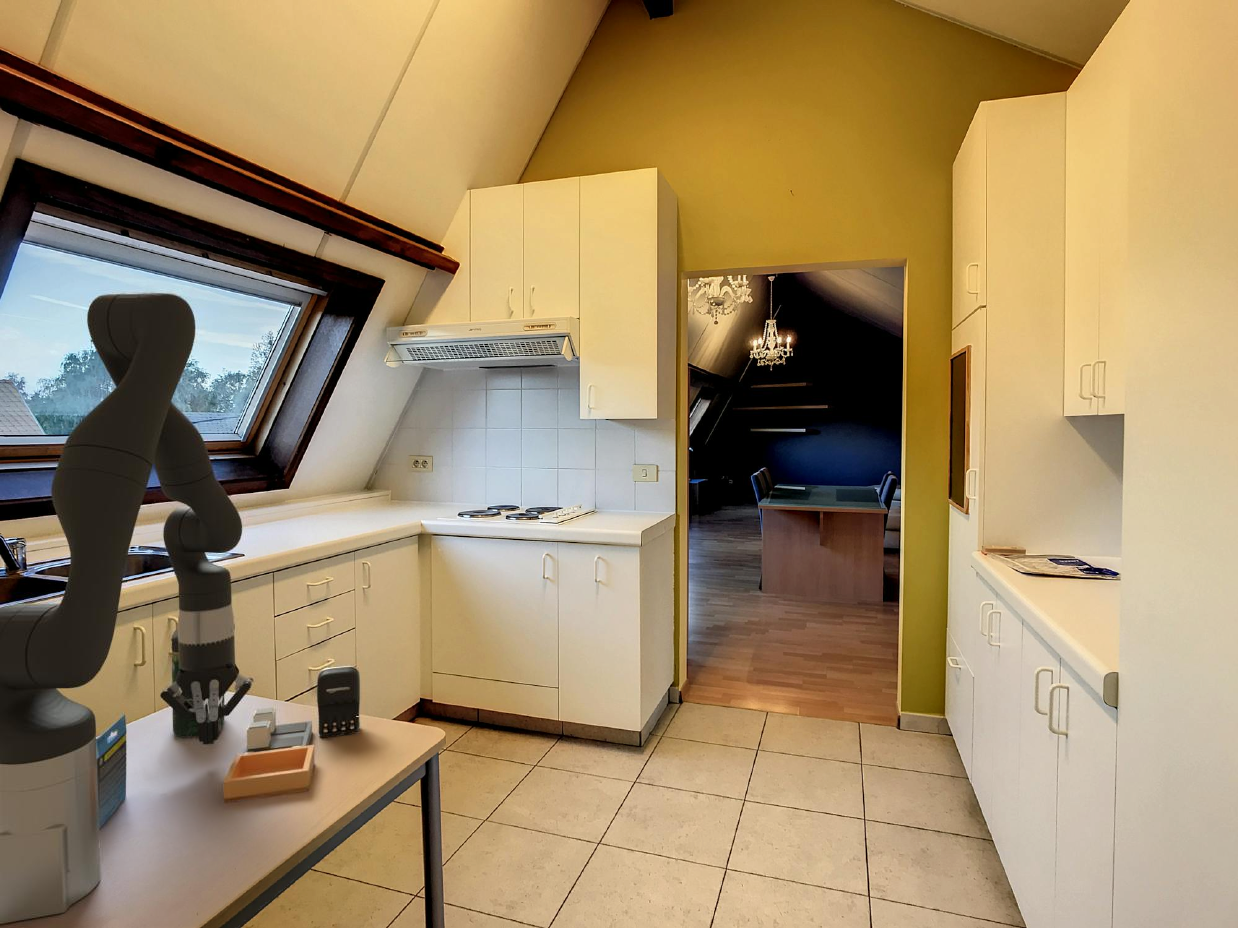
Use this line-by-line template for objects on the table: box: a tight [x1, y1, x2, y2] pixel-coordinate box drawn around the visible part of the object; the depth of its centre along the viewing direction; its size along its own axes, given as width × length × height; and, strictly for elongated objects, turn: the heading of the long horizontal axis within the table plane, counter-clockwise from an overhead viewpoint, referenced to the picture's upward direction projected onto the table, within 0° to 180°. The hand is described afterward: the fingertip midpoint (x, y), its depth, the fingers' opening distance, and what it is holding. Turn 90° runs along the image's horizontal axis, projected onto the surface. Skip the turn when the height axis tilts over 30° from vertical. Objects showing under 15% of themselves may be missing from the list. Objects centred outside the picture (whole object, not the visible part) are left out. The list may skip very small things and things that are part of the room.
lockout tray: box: [222, 744, 315, 804], centre depth 103 cm, size 9×11×3 cm
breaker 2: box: [246, 721, 271, 749], centre depth 110 cm, size 2×3×3 cm
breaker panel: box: [242, 720, 313, 754], centre depth 113 cm, size 12×9×2 cm
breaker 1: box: [252, 706, 277, 733], centre depth 116 cm, size 2×3×3 cm
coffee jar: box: [170, 628, 225, 738], centre depth 121 cm, size 10×8×19 cm
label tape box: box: [96, 713, 127, 830], centre depth 94 cm, size 9×4×12 cm, turn 15°
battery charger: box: [316, 665, 361, 738], centre depth 120 cm, size 7×4×11 cm, turn 109°
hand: (209, 742), depth 108 cm, fingers closed
